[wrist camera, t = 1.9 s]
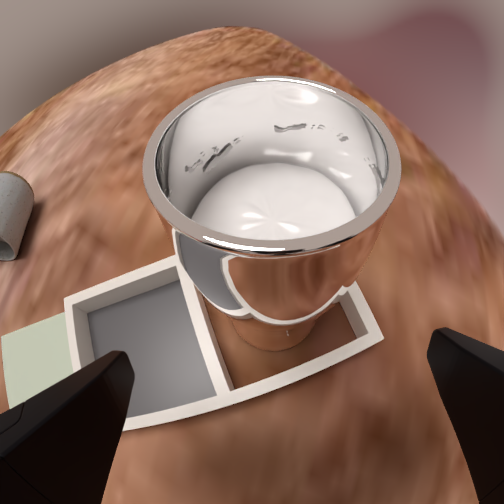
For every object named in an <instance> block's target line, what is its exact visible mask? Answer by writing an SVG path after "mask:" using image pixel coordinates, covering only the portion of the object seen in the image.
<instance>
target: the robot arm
mask: <svg viewBox="0 0 504 504" xmlns="http://www.w3.org/2000/svg"><path fill="white" fill-rule="evenodd" d="M427 359H428V362H429V365H430V368H431V370H432V373H433V376H434V379H435V382H436V385H437V388H438V391H439V394H440V397H441V399H442V402H443V404H444V406H445V409H446V411H447V413H448V416H449V418H450V420H451V423H452V425H453V428H454V430H455V433H456V435H457V438H458V440H459V443H460V446H461V448H462V451H463V454H464V456H465V459H466V462H467V465H468V468H469V471H470V474H471V477H472V480H473V484H474V487H475V490H476V494H477V497H478V501H480V502H479V504H504V351H502V350H499V349H497V348H495V347H492V346H490V345H487V344H485V343H483V342H480V341H478V340H475V339H473V338H471V337H468V336H466V335H463V334H461V333H459V332H456V331H454V330H451V329H449V328H446V327H444V328H439V329H436V330H434V331H433V333H432V336H431V340H430V343H429V347H428V350H427ZM134 381H135V373H134V370H133V367H132V365H131V362H130V359H129V357H128V354H127V353H126V352H125V351H119V350H112V351H110V352H109V353H107V354H105V355H104V356H102V357H100V358H99V359H97V360H95V361H93V362H92V363H90V364H88V365H87V366H85V367H83V368H81V369H80V370H78V371H76V372H74V373H73V374H71V375H69V376H68V377H66V378H64V379H62V380H61V381H59V382H57V383H55V384H54V385H52V386H50V387H48V388H47V389H45V390H43V391H41V392H40V393H38V394H36V395H34V396H33V397H31V398H29V399H27V400H26V401H25V402H22V403H20V404H18V405H17V406H15V407H13V408H11V409H9V410H7V411H5V412H4V413H2V414H0V504H101V502H102V498H103V494H104V490H105V487H106V483H107V480H108V476H109V473H110V469H111V466H112V462H113V459H114V456H115V453H116V449H117V446H118V443H119V440H120V437H121V434H122V430H123V427H124V424H125V421H126V417H127V412H128V408H129V403H130V398H131V394H132V389H133V385H134Z"/></svg>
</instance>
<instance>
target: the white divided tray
mask: <svg viewBox="0 0 504 504" xmlns="http://www.w3.org/2000/svg"><path fill="white" fill-rule="evenodd" d="M339 302H340V304H341V306H342V308H343V310H344V312H345V314H346V316H347V318H348V321H349V323H350V325H351V327H352V329H353V331H354V333H355V335H356V338H357V339H356V340H354V341H352V342H350V343H348V344H346V345H344V346H342V347H340V348H338V349H335V350H333V351H331V352H329V353H327V354H325V355H322V356H320V357H318V358H316V359H313V360H311V361H309V362H306V363H304V364H302V365H299V366H297V367H295V368H292V369H290V370H287V371H285V372H282V373H280V374H277V375H274V376H272V377H269V378H267V379H264V380H261V381H258V382H256V383H253V384H250V385H247V386H244V387H241V388H239V389H236V390H235V389H234V386H233V384H232V381H231V378H230V376H229V373H228V370H227V367H226V365H225V362H224V359H223V356H222V354H221V351H220V348H219V345H218V342H217V339H216V336H215V334H214V331H213V328H212V325H211V322H210V319H209V316H208V313H207V310H206V307H205V303H204V300H203V297H202V294H201V292H200V291H199V290H198V288H197V287H196V286H195V285H194V283H193V282H192V281H191V279H190V278H189V276H188V274H187V273H186V271H185V269H184V268H183V266H182V264H181V263H180V261H179V259H178V257H177V255H174V256H171V257H168V258H166V259H163V260H160V261H158V262H155V263H152V264H150V265H147V266H145V267H142V268H139V269H137V270H134V271H132V272H129V273H126V274H124V275H121V276H119V277H116V278H114V279H111V280H108V281H106V282H103V283H101V284H98V285H96V286H93V287H91V288H88V289H86V290H83V291H81V292H78V293H76V294H73V295H71V296H68V297H66V298H64V307H65V312H63V313H61V314H58V315H55V316H53V317H50V318H47V319H45V320H42V321H40V322H37V323H34V324H32V325H29V326H27V327H24V328H22V329H19V330H16V331H14V332H11V333H9V334H6V335H4V336H1V343H2V357H3V367H4V376H5V383H6V390H7V396H8V402H9V407H10V409H11V408H13V407H15V406H17V405H18V404H20V403H22V402H25V401H26V400H27V399H29V398H31V397H33V396H34V395H36V394H38V393H40V392H41V391H43V390H45V389H47V388H48V387H50V386H52V385H54V384H55V383H57V382H59V381H61V380H62V379H64V378H66V377H68V376H69V375H71V374H73V373H74V372H76V371H78V370H80V369H81V368H83V367H85V366H87V365H88V364H90V363H92V362H93V361H95V360H97V359H99V358H100V357H102V356H104V355H105V354H107V353H109V352H110V351H112V350H119V351H125V352H126V353H127V354H128V357H129V359H130V362H131V365H132V367H133V370H134V373H135V381H134V385H133V389H132V394H131V398H130V403H129V408H128V412H127V417H126V421H125V424H124V427H123V430H122V431H126V430H132V429H137V428H143V427H148V426H153V425H157V424H162V423H166V422H171V421H175V420H179V419H183V418H187V417H191V416H195V415H198V414H202V413H206V412H209V411H213V410H216V409H219V408H223V407H226V406H229V405H232V404H235V403H238V402H241V401H244V400H247V399H250V398H253V397H256V396H259V395H262V394H264V393H267V392H270V391H272V390H275V389H278V388H280V387H283V386H285V385H288V384H290V383H293V382H295V381H298V380H300V379H302V378H305V377H307V376H309V375H312V374H314V373H316V372H319V371H321V370H323V369H325V368H327V367H330V366H332V365H334V364H336V363H338V362H340V361H342V360H344V359H346V358H348V357H350V356H352V355H354V354H356V353H358V352H360V351H362V350H364V349H366V348H368V347H370V346H372V345H374V344H376V343H377V342H379V341H381V340H383V339H384V337H383V335H382V333H381V331H380V328H379V326H378V324H377V322H376V320H375V318H374V316H373V314H372V312H371V310H370V308H369V306H368V304H367V302H366V300H365V298H364V296H363V294H362V292H361V290H360V288H359V286H358V284H357V283H356V281H355V282H354V283H353V284H352V286H351V287H350V288H349V289H348V291H347V292H346V293H345V294H344V296H343V297H342V298H341V299H340V300H339Z"/></svg>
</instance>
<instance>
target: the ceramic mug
mask: <svg viewBox="0 0 504 504" xmlns="http://www.w3.org/2000/svg"><path fill="white" fill-rule="evenodd" d="M33 204H34V193H33V190H32V188H31V186H30V185H29V183H28V182H27V181H26V180H25V179H24V178H23V177H21V176H20V175H18V174H16V173H14V172H9V171H2V172H0V260H5V261H10V260H14V259H15V258H16V256H17V254H18V250H19V247H20V243H21V240H22V237H23V234H24V231H25V228H26V225H27V222H28V220H29V217H30V214H31V212H32V208H33Z"/></svg>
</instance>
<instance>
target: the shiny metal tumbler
mask: <svg viewBox="0 0 504 504" xmlns="http://www.w3.org/2000/svg"><path fill="white" fill-rule="evenodd" d="M142 174H143V182H144V186H145V189H146V192H147V195H148V197H149V199H150V201H151V203H152V204H153V206H154V207H155V209H156V211H157V213H158V215H159V218H160V220H161V222H162V225H163V227H164V230H165V232H166V234H167V236H168V239H169V241H170V243H171V245H172V247H173V249H174V251H175V253H176V255H177V257H178V259H179V261H180V263H181V264H182V266H183V268H184V269H185V271H186V273H187V274H188V276H189V278H190V279H191V281H192V282H193V283H194V285H195V286H196V287H197V288H198V290H199V291H200V292H201V293H202V294H203V296H204V297H205V298H206V299H207V300H208V301H209V302H210V303H211V304H212V305H213V306H214V307H215V308H216V309H217V310H219V311H220V312H222V313H223V314H224V315H226V316H227V317H229V318H230V319H231V320H232V323H233V325H234V327H235V329H236V331H237V332H238V334H239V335H240V336H241V337H242V338H243V339H244V340H245V341H246V342H247V343H249V344H250V345H252V346H254V347H256V348H259V349H262V350H267V351H280V350H285V349H288V348H291V347H293V346H295V345H297V344H298V343H300V342H301V341H302V340H304V339H305V338H306V337H307V335H308V334H309V333H310V332H311V330H312V328H313V326H314V324H315V321H316V319H317V318H319V317H320V316H321V315H323V314H324V313H326V312H327V311H328V310H330V309H331V308H332V307H333V306H334V305H335V304H336V303H337V302H338V301H339V300H340V299H341V298H342V297H343V296H344V294H345V293H346V292H347V291H348V289H349V288H350V287H351V286H352V284H353V283H354V282H355V280H356V279H357V277H358V275H359V274H360V272H361V270H362V268H363V267H364V265H365V263H366V261H367V259H368V258H369V256H370V254H371V251H372V249H373V247H374V245H375V242H376V240H377V238H378V235H379V233H380V231H381V228H382V225H383V223H384V220H385V217H386V214H387V212H388V209H389V207H390V205H391V203H392V202H393V200H394V198H395V196H396V194H397V191H398V188H399V184H400V179H401V159H400V154H399V150H398V147H397V144H396V142H395V140H394V138H393V136H392V134H391V132H390V131H389V129H388V128H387V126H386V125H385V123H384V122H383V121H382V120H381V119H380V118H379V117H378V116H377V114H376V113H374V112H373V111H372V110H371V109H370V108H369V107H368V106H366V105H365V104H364V103H362V102H361V101H359V100H358V99H356V98H355V97H353V96H351V95H349V94H348V93H346V92H344V91H341V90H339V89H337V88H335V87H332V86H329V85H326V84H323V83H320V82H317V81H313V80H308V79H303V78H297V77H288V76H257V77H248V78H242V79H237V80H233V81H229V82H225V83H222V84H219V85H216V86H213V87H211V88H208V89H206V90H204V91H201V92H199V93H197V94H196V95H194V96H192V97H190V98H189V99H187V100H185V101H184V102H182V103H181V104H180V105H178V106H177V107H176V108H175V109H173V110H172V111H171V112H170V113H169V114H168V115H167V116H166V117H165V118H164V119H163V120H162V121H161V123H160V124H159V125H158V126H157V128H156V129H155V131H154V132H153V134H152V136H151V138H150V140H149V142H148V144H147V147H146V150H145V153H144V158H143V164H142Z"/></svg>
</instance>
